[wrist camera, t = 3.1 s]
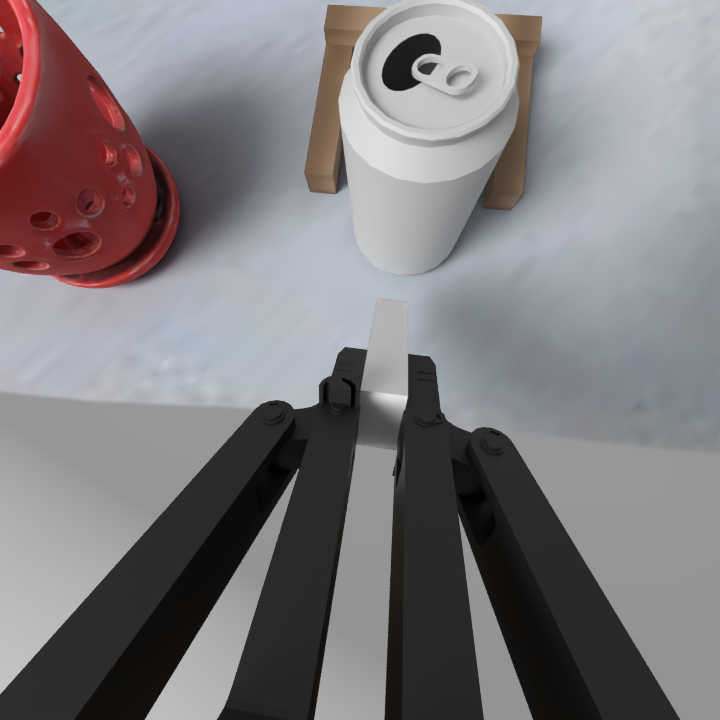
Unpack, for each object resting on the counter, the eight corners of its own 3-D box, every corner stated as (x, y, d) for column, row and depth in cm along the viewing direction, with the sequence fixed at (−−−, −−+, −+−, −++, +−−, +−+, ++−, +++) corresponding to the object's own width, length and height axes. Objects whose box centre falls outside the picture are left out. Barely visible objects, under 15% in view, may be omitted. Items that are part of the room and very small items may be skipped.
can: (396, 167, 24) (417, -61, 12) (476, 223, 23) (583, 36, 11) (333, 240, 24) (291, 76, 12) (413, 300, 23) (456, 189, 11)
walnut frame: (522, 62, 25) (542, 16, 22) (510, 210, 23) (530, 182, 20) (333, 50, 26) (328, 4, 23) (310, 191, 24) (301, 162, 21)
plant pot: (8, 217, 25) (-321, 51, 13) (144, 122, 26) (-54, -119, 14) (89, 344, 23) (-205, 285, 12) (233, 239, 24) (95, 79, 12)
